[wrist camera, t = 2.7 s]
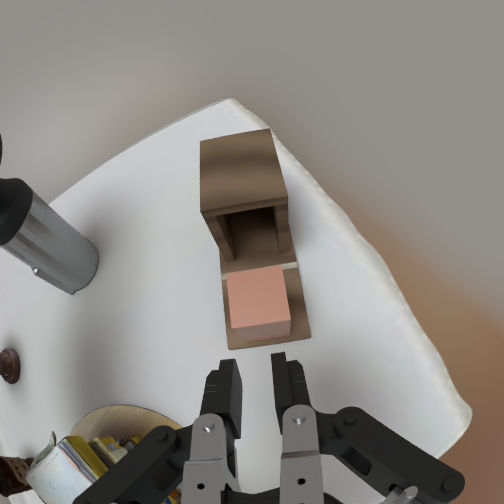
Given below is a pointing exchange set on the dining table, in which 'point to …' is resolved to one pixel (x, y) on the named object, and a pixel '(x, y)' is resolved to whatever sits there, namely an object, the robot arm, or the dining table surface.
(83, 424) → the stacked packages on board
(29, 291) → the dining table surface
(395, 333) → the dining table surface
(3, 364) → the mortar and pestle
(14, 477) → the coffee cup
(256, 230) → the walnut socket base
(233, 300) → the terracotta plug
